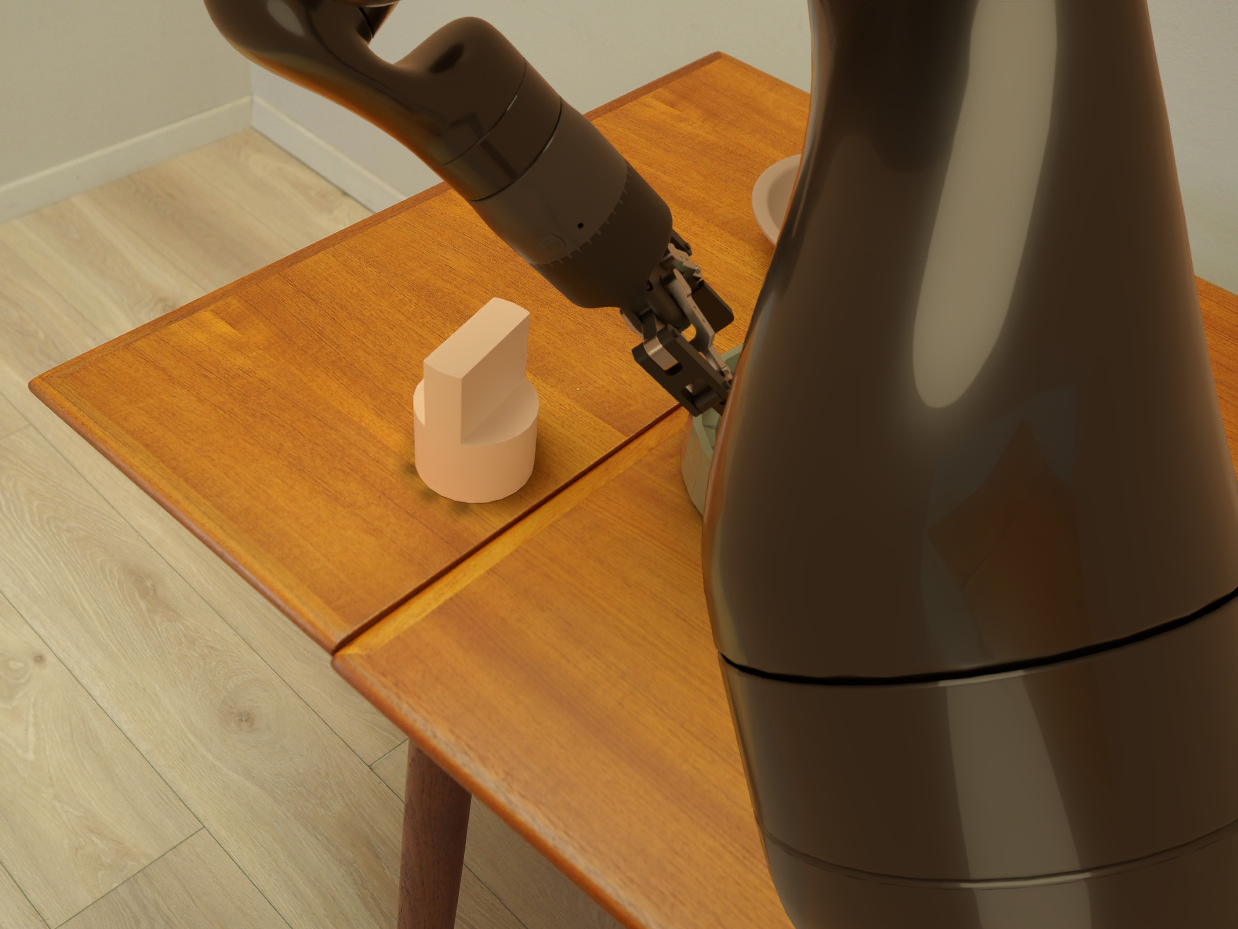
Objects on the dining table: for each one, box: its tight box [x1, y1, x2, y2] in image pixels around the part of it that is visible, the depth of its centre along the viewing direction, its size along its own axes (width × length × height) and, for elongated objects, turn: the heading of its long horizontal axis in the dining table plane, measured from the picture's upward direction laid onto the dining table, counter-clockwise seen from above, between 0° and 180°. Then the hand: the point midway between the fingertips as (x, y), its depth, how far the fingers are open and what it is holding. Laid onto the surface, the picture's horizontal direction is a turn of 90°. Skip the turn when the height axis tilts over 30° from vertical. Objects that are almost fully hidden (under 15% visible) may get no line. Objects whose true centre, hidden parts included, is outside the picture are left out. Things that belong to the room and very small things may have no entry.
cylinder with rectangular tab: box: [412, 296, 540, 504], centre depth 75 cm, size 9×9×12 cm
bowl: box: [680, 342, 744, 517], centre depth 80 cm, size 21×21×6 cm
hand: (735, 368), depth 66 cm, fingers open, 8 cm apart
